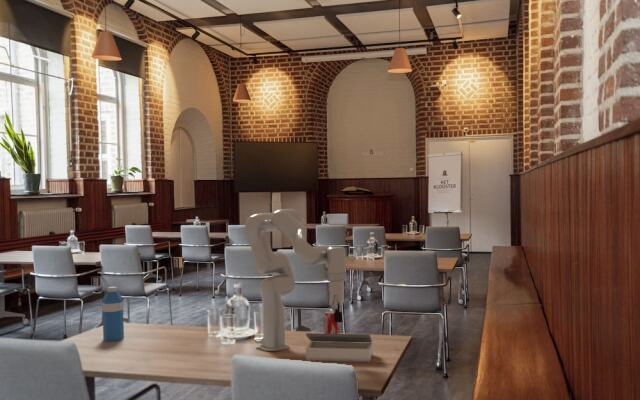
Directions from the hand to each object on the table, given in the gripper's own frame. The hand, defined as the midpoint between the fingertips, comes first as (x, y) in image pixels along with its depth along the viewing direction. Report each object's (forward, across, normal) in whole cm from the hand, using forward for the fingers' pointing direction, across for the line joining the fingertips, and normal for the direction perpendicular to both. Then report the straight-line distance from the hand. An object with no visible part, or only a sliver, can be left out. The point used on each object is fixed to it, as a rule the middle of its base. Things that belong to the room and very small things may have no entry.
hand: (338, 321), depth 256 cm
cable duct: (+15, -3, 0) cm, 16 cm away
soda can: (+15, -38, -9) cm, 42 cm away
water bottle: (+15, -26, -113) cm, 117 cm away
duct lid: (+8, -4, 0) cm, 9 cm away
